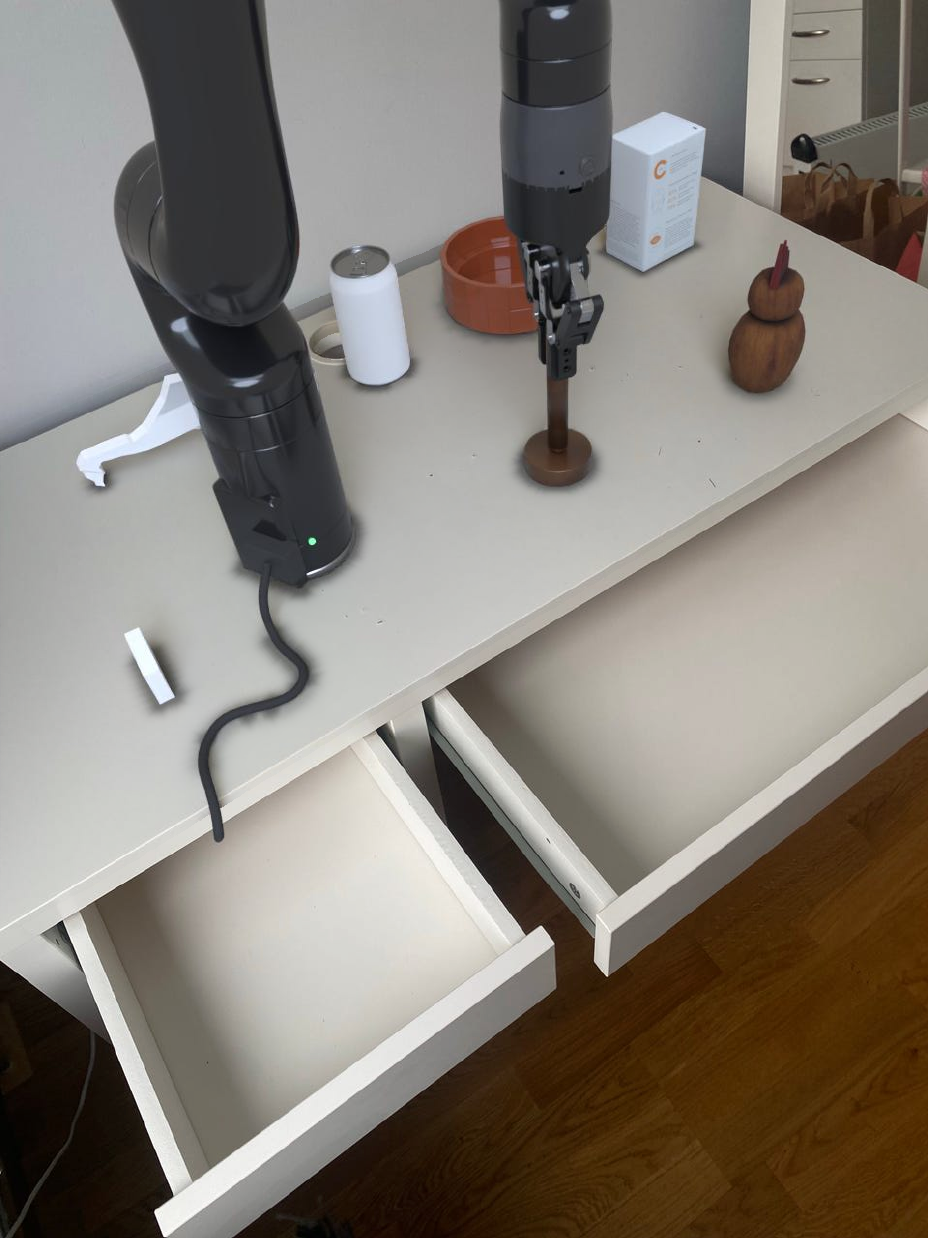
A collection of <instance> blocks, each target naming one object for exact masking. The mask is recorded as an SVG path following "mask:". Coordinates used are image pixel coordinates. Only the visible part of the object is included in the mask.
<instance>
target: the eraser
mask: <svg viewBox="0 0 928 1238" xmlns="http://www.w3.org/2000/svg"><path fill="white" fill-rule="evenodd" d="M123 636H124V638H125V640H126V643H127V644H128V646H129V649H130V650H131V653H132V655H133V657H134V659H135V662H136V663H137V665H138V668H139V669H140V672H141V674H142V676H143V678H144V680H145V681H146V683H147V685H148V686H149V688H150V690H151V692H152V693H153V695H154V696H155V698H156V700H157V702H158V703H159V705H163V704H164V703H167V702H168V701H170V700H173V699H174V698H176V696H175V694H174V692H173V690H172V688H171V686H170V684H169V682H168V680H167V678H166V676H165V674H164V672H163V670H162V667H161V666H160V663H159V661H158V659H157V658H156V655H155V654H154V652H153V650H152V648H151V646H150V644H149V642H148V641H147V639H146V637H145V636H144V634H143V632H142V630H141V628H140V627H136V628H134V629H132V630H130V631H128V632H125V633H124V634H123Z"/></svg>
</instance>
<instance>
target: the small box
mask: <svg viewBox="0 0 928 1238" xmlns="http://www.w3.org/2000/svg"><path fill="white" fill-rule="evenodd" d="M706 133H707V128H705V127H703V126H701V125H700V124H697V123H694V122H693V121H690V120H688V119H685V118H682V117H680V116H678V115H674V114H672V113H669V112H668V111H667V112H666V111H661V112H659V113H657V114H655V115H653V116H651V117H648V118H646V119H644V120H642V121H640V122H638V123H635V124H633V125H631V126H629V127H627V128H624V129H623V130H619V131H618V132H616V133H613V138H612V163H611V190H610V214H609V219H608V221H607V223H606V231H605V252H606V253H607V254H609V255H610V256H612V257H614V258H616V259H618V260H620V261H621V262H623V263H625V264H627V265H629V266H631V267H632V268H634V269H636V270H638V271H641V272H642V273H645V272H646V271H648V270H650V269H652V268H654V267H655V266H657V265H659V264H661V263H663V262H664V261H666V260H668V259H670V258H672V257H674V256H676V255H677V254H679V253H681V252H683V251H685V250H687V249H689V248H691V247H693V246H694V245H695V234H696V226H697V218H698V217H697V215H698V208H699V207H698V206H699V197H700V189H701V181H702V178H701V177H702V171H703V170H702V169H703V161H704V151H705V144H706V143H705V141H706Z"/></svg>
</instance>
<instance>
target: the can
mask: <svg viewBox="0 0 928 1238" xmlns="http://www.w3.org/2000/svg"><path fill="white" fill-rule="evenodd" d="M329 266H330V273H329V278H328V279H329V280H328V282H329V288H330V289H329V290H330V295H331V299H332V303H333V308H334V312H335V313H334V314H335V317H336V321H337V327H338V331H339V336H340V340H341V346H342V350H343V354H344V359H345V363H346V368H347V372H348V374H349V376H350V377H351V378H352V379H353V380H355V382H357V383H359V384H361V385H364V386H369V387H380V386H385V385H386V386H387V385H390V384H392V383H394V382H397V381H398V380H400V379H401V378H402V377H403V376H404V375H405V374H406V372H407V371H408V370H409V368H410V365H411V357H410V352H409V344H408V343H409V342H408V336H407V331H406V330H407V329H406V323H405V317H404V309H403V305H402V304H403V303H402V297H401V291H400V285H399V278H398V272H397V269H396V267H395V265H394V264H393V262H392V261H391V255H390V254H389V252H388V250H386V249H385V248H382V247H381V246H377V245H372V244H370V245H369V244H361V245H355V246H354V245H353V246H351V247H347V248H345V249H342V250H341V251H339V252H337V253H336V254H335V255H334V256H333V257H332V258H331V260H330V263H329Z"/></svg>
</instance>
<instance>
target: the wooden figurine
mask: <svg viewBox="0 0 928 1238" xmlns="http://www.w3.org/2000/svg"><path fill="white" fill-rule="evenodd" d="M790 251H791V250H790V249H789V246H788V240H787V239H784V241H783V243H780V244H779V248H778V251H777V256H776V258H775V259H776V260H775V264H774V266H769V267H766V268H763V269H762V270H760V271H759V272H758V273H757V274H756V276H755V277H754V278H753V280H752V282H751V284H750V286H749V289H748V294H747V300H746V301H747V306H748V310H747V311H746V312H745V313H744V314H742V316H740V318H739V320H738V321H737V322H736V324H735V326H734V327H733V329H732V331H731V334H730V337H729V339H728V345H727V359H728V363H729V368H730V372H731V375H732V378H733V381H734V382H735V383H736V384H737V385H738V386H739V387H740V388H742V389H743V390H745V391H747V392H750V393H754V394H755V393H756V394H757V393H759V394H760V393H767V392H770V391H771V392H772V391H773V390H776V389H777V388H779V387H780V386H782V385H783V384H784V383H785V382H786V381H787V380H788V378H789V377H790V375H791V373H792V372H793V370H794V368H795V367H796V364H797V363H798V361H799V358H800V356H801V355H802V352H803V349H804V345H805V342H806V341H805V340H806V332H807V331H806V323H805V319H804V315H803V313H802V312H801V310H800V308H801V306H802V302H803V299H804V297H805V296H804V295H805V281H804V278H803V276H802V275H801V274H800V273H799V272H798V271H797V270H796V269H793V268H791V267H790V265H789V264H790V263H789V262H790Z"/></svg>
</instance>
